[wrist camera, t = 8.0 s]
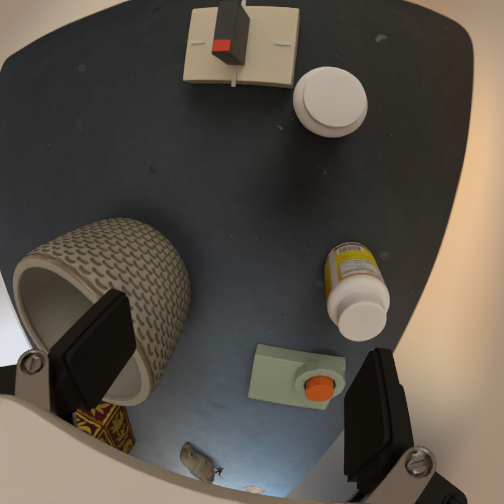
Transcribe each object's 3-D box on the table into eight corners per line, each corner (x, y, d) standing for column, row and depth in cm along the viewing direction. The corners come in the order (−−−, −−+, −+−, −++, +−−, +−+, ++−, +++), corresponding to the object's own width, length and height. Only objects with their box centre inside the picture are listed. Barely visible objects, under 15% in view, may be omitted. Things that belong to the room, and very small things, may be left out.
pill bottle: (284, 113, 24) (271, 105, 16) (316, 70, 22) (320, 41, 13) (331, 147, 25) (343, 157, 16) (364, 105, 23) (392, 94, 14)
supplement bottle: (346, 294, 31) (355, 358, 22) (313, 263, 30) (312, 323, 21) (383, 263, 29) (408, 321, 20) (351, 229, 28) (369, 279, 19)
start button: (337, 376, 32) (337, 387, 31) (329, 393, 34) (328, 403, 32) (309, 373, 33) (308, 383, 31) (303, 389, 34) (302, 399, 33)
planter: (239, 298, 34) (193, 406, 20) (144, 329, 40) (88, 406, 26) (163, 169, 29) (53, 216, 15) (80, 233, 35) (-3, 288, 21)
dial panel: (300, 13, 20) (299, 2, 17) (292, 94, 24) (290, 91, 21) (202, 12, 21) (192, 3, 18) (192, 89, 25) (181, 86, 22)
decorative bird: (196, 442, 55) (186, 467, 48) (226, 468, 60) (220, 490, 53) (178, 440, 56) (168, 463, 50) (209, 466, 62) (202, 487, 55)
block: (349, 351, 34) (351, 373, 31) (326, 399, 39) (326, 419, 36) (258, 336, 36) (253, 357, 33) (250, 387, 41) (245, 406, 37)
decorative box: (62, 364, 54) (29, 404, 41) (122, 398, 53) (92, 447, 39) (85, 416, 66) (64, 448, 53) (136, 442, 65) (116, 479, 52)
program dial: (233, 18, 19) (217, 0, 15) (250, 18, 19) (238, -1, 15) (227, 65, 21) (210, 53, 17) (244, 65, 21) (230, 53, 17)
